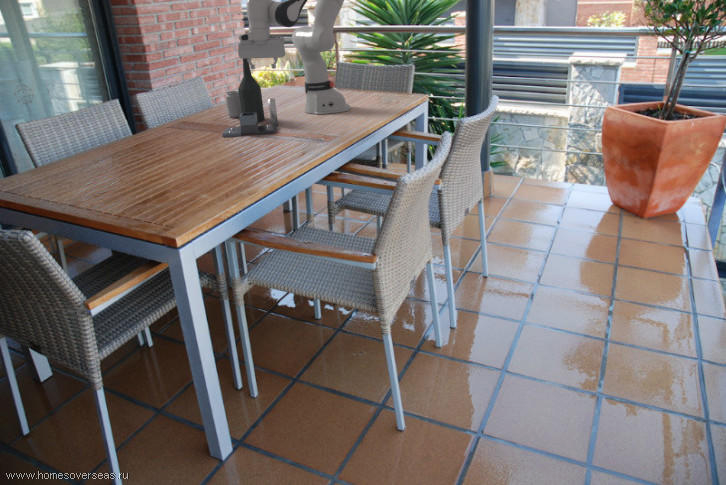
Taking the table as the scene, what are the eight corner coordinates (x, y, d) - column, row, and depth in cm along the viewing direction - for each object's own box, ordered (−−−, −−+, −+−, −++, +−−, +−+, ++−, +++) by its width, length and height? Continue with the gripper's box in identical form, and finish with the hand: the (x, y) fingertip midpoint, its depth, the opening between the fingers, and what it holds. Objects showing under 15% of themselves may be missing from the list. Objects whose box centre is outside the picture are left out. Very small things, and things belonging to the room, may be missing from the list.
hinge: (277, 127, 255) (274, 109, 252) (275, 133, 246) (272, 115, 243) (226, 131, 255) (223, 113, 251) (222, 137, 246) (219, 118, 242)
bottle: (259, 123, 265) (250, 56, 252) (240, 123, 267) (229, 56, 254) (267, 118, 274) (258, 52, 261) (248, 118, 276) (238, 53, 263)
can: (245, 114, 284) (242, 89, 279) (241, 118, 277) (237, 93, 272) (231, 114, 285) (227, 90, 280) (226, 118, 278) (222, 93, 273)
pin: (278, 124, 260) (275, 98, 255) (277, 126, 258) (274, 99, 252) (271, 125, 260) (268, 98, 255) (271, 126, 258) (267, 100, 252)
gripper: (285, 33, 246) (288, 67, 252) (238, 35, 248) (242, 68, 253) (282, 35, 240) (285, 69, 246) (235, 36, 242) (239, 70, 248)
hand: (263, 68), depth 250 cm, fingers open, 8 cm apart
